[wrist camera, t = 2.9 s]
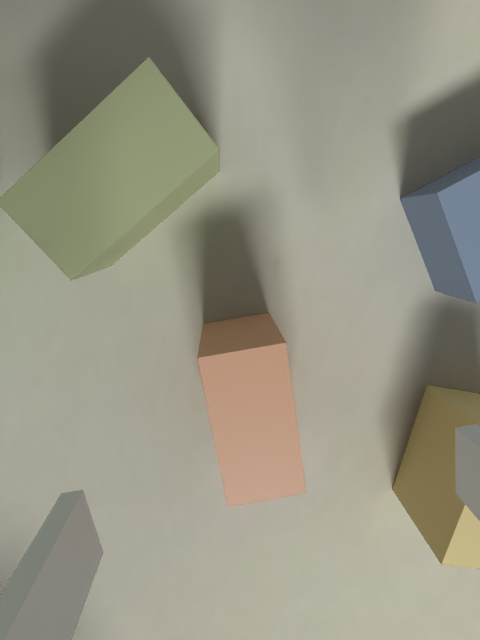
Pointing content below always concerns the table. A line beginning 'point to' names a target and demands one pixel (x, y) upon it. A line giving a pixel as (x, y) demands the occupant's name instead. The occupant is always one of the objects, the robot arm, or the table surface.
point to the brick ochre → (440, 477)
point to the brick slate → (449, 230)
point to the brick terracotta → (251, 408)
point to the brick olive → (114, 175)
